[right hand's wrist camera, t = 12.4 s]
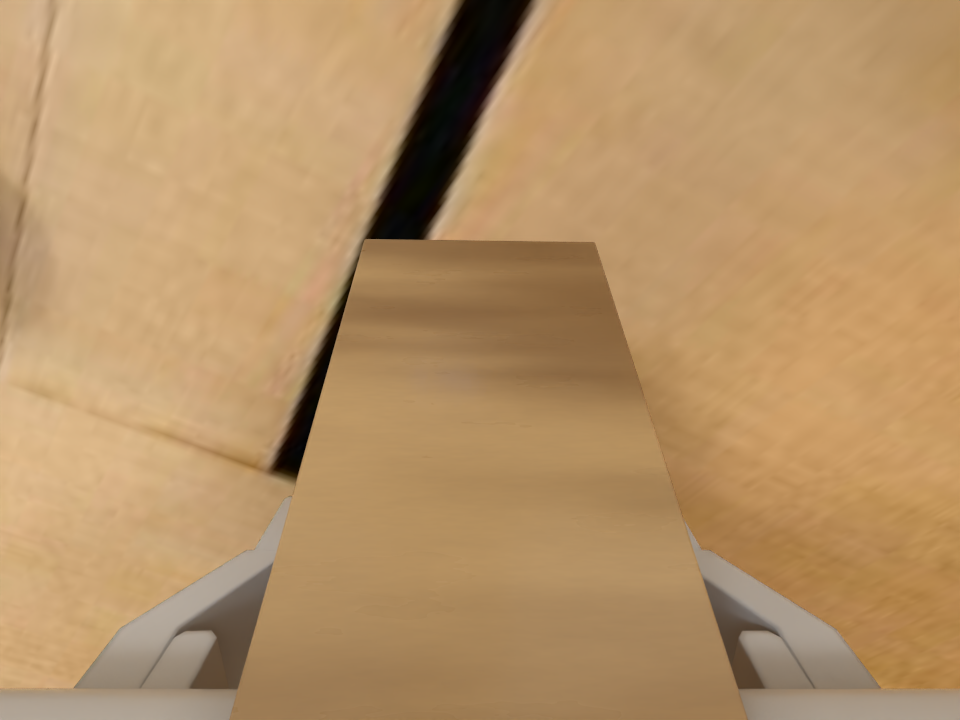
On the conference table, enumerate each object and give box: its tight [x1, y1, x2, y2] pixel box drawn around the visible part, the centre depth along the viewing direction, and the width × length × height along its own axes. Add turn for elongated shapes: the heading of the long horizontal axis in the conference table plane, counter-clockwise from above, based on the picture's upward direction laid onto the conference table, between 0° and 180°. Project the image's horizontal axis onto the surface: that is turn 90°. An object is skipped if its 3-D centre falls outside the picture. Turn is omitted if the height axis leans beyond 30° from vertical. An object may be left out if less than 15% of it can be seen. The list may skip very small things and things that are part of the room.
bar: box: [229, 239, 748, 720], centre depth 16 cm, size 25×5×9 cm, turn 0°
